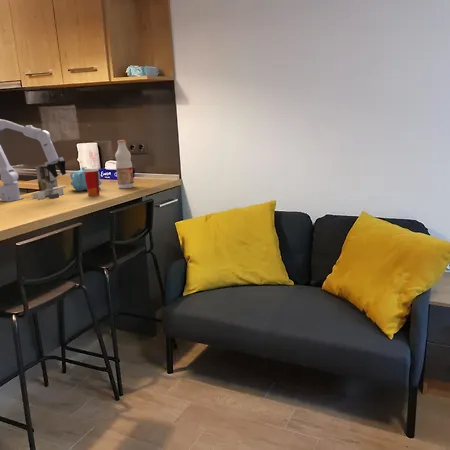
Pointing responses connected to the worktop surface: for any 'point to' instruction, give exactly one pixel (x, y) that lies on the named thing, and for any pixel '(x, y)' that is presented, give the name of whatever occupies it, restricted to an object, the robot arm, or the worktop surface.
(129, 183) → the fruit juice
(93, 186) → the coffee cup
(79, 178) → the decorative pot
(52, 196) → the gray block
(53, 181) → the coffee box
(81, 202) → the worktop surface
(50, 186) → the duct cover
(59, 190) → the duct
